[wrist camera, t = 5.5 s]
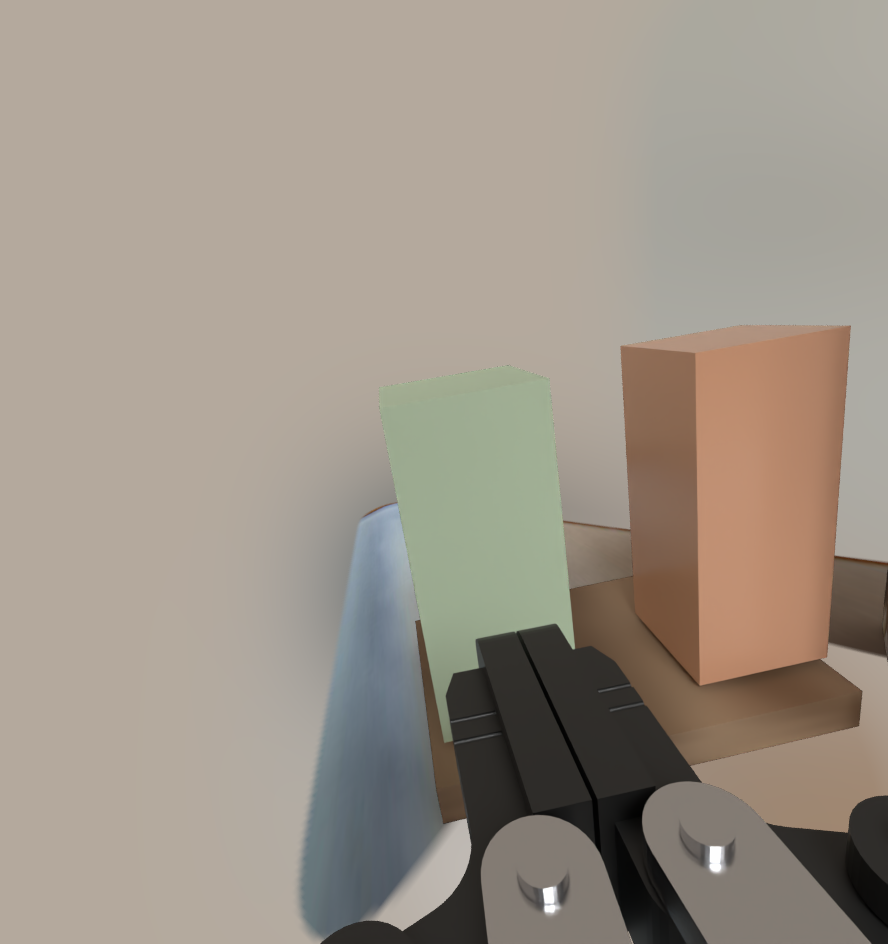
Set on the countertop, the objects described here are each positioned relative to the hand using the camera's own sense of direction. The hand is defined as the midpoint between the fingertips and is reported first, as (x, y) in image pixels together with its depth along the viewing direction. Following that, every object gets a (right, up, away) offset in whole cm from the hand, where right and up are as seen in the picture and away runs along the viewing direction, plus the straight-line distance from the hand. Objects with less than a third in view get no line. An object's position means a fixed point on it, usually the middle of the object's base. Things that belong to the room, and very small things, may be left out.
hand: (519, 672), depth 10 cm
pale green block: (+1, -5, +11) cm, 12 cm away
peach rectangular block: (+10, -3, +12) cm, 16 cm away
